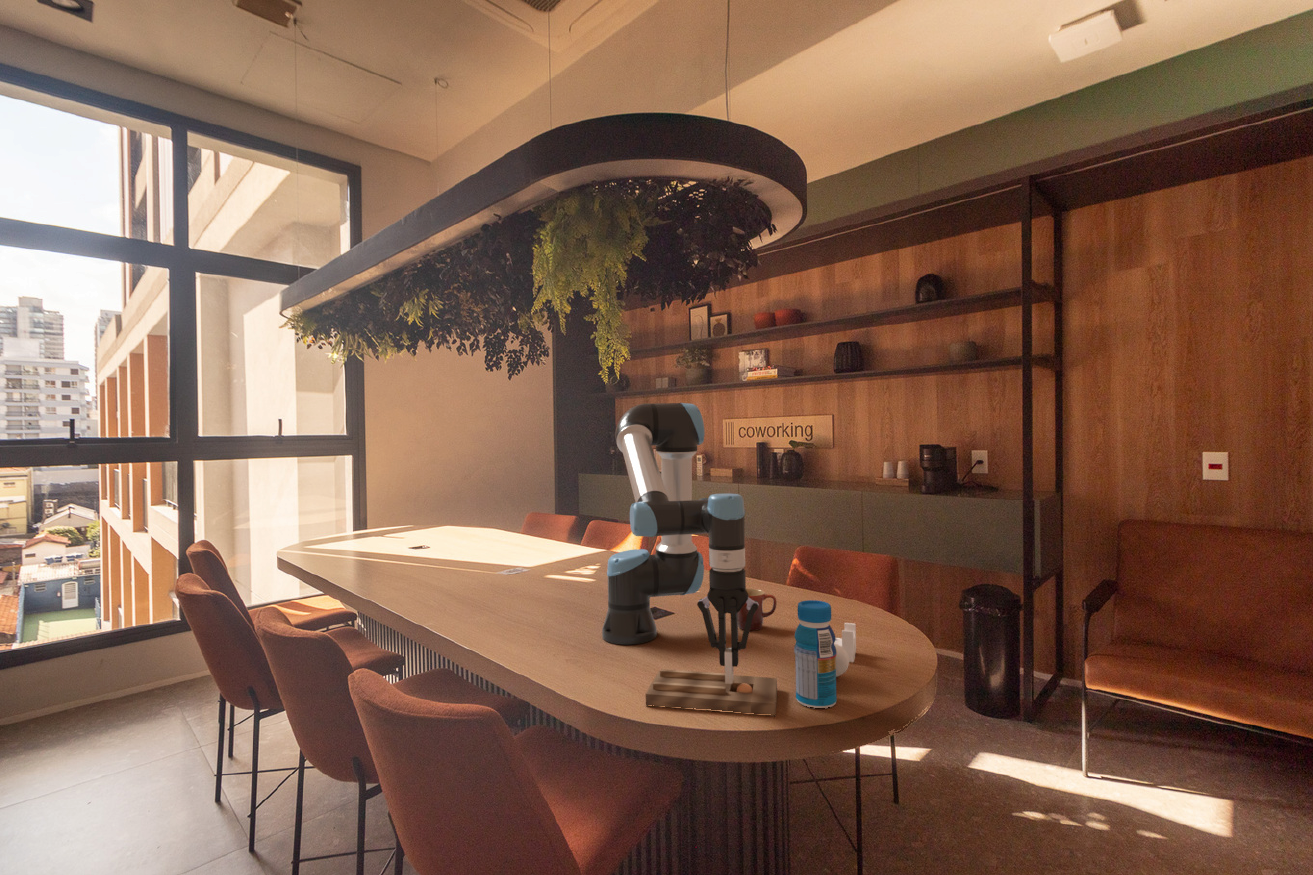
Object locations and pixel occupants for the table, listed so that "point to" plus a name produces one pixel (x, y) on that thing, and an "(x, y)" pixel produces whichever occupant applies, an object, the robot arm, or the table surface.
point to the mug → (759, 614)
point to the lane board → (712, 692)
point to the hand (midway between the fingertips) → (729, 681)
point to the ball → (744, 688)
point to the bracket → (848, 640)
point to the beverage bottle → (815, 655)
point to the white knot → (841, 660)
